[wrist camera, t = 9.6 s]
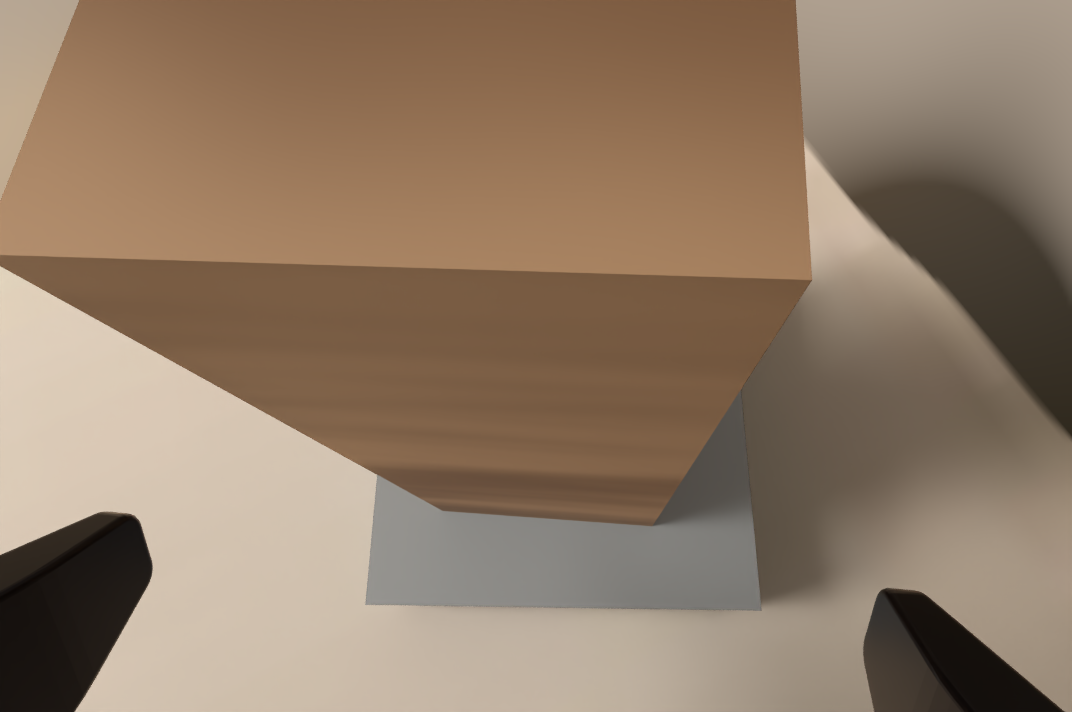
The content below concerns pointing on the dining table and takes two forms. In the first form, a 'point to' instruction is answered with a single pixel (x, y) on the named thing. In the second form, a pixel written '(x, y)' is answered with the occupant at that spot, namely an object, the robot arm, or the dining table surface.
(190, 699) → the dining table surface
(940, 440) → the dining table surface
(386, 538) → the slate plinth
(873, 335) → the dining table surface
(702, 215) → the walnut pillar
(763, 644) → the dining table surface
